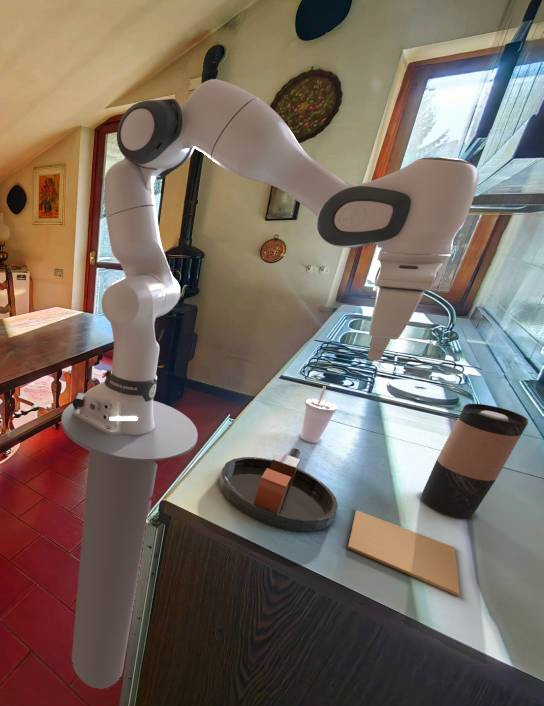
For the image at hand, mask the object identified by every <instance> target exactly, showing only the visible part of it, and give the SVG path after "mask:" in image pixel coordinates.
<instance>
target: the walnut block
mask: <svg viewBox="0 0 544 706" xmlns="http://www.w3.org/2000/svg"><path fill="white" fill-rule="evenodd" d="M271 460H272V463H271V467H270V469H271V470H274V471H276V472H279V473H282V474H284V475H287V476H290V477H291V479H290V482H289V485H288V488H287V491H286V493H288V491H289V489H290V487H291V485H292V483H293V480H294V477H295V474H296V471H297V468H298V469H299V465H300V462H301V459H300V458H299V457H298V458H295V457H292V456H289V455H288V454H287V453H283V452H280V451H277V452H276V454H275V455H274V457H273V458H272V459H271Z"/></svg>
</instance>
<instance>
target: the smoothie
mask: <svg viewBox="0 0 544 706" xmlns="http://www.w3.org/2000/svg"><path fill="white" fill-rule="evenodd" d="M326 388H327V386H322V389H321V392H320V395H319V397H318V399H317V398H308V399H306V400H305V403H304V407H305V408H304V412H303V414H304V415H303V420H302V426H301V431H300V432H301V433H300V439H302V441H305V442H308V443H310V444H317V443H319V441H320V440H321V438H322V435H323V434H324V432H325V430H326V428H327V426H328V424H329V423H330V421H331V419H332V417H333V416H334V414H336V413H337V410H338V406H337V405H335V404H334V403H332V402H329V401H327V400H324V399H323V397H324V394H325V391H326Z"/></svg>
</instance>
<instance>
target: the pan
mask: <svg viewBox="0 0 544 706" xmlns="http://www.w3.org/2000/svg"><path fill="white" fill-rule="evenodd" d="M272 460H273V459H271V458H264V457H256V456H242V457H237V458H233V459H230V460H228V461H226V462H225V463H224V464H223V466H222V467H221V471H220V474H219V483H218V484H219V488H220V491H221V492H222V494H223V496H224V497H225V498H226V499H227V501H229V502H230V503H231V504H232V505H233V506H234V507H235V508H237V509H238V510H240V511H241V512H242V513H244V514H245V515H248V517H251V518H253V519H255V520H257V521H259V522H261V523H264V524H266V525H269V526H272V527H275V528H278V529H282V530H286V531H293V532H301V533H303V532H305V533H306V532H316V531H321V530H324V529H325V528H328V527H329V526H330V525H331V524H332V522H333V521H334V518H335V516H336V514H337V510H338V507H339V504H338V501H337V498H336V496H335V494H334V493H333V492H332V491H331V489H330V488H329V487H328V486H327V485H325V484H324V483H323V482H322V481H320V480H319V479H318V478H317V477H315V476H313V475H312V474H310V473H308V472H306V471H305V470H302V469H300V468H299V467H298V468H297V471H296V474H295V477H294V480H293V483H292V485H291V487H290V489H289V491H288V493H286V494H285V497H284V500H283V503H282V505H281V507H280V509H279V511H278V513H275V512H273V511H271V510H268V509H266V508H264V507H261V506H259V505H257V504H254V501H255V497H256V494H257V490H258V487H259V484H260V480H261V477H262V476H263V474H264V472H265V471H266V469H267V468H268V469H270V467H271V463H272Z"/></svg>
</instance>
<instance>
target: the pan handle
mask: <svg viewBox="0 0 544 706" xmlns="http://www.w3.org/2000/svg"><path fill="white" fill-rule="evenodd" d="M300 454H301V451H300V450H299V448H295V447H294V448H291V450H290V451H289V453H288V454H287V455H289V456H292V457H295V458H298V459H299V457H300Z"/></svg>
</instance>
